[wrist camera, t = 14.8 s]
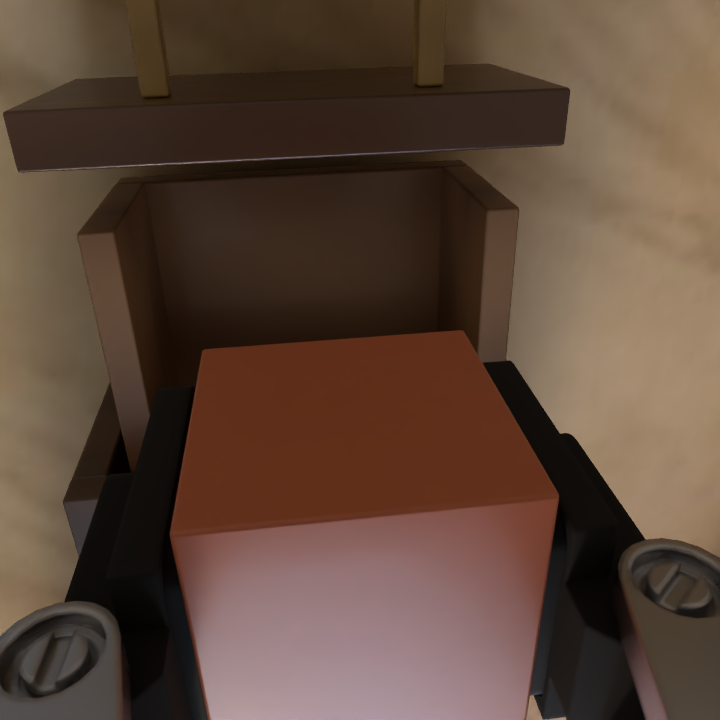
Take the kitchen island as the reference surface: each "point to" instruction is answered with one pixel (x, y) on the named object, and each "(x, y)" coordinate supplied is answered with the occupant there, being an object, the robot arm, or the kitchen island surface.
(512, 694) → the block
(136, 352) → the drawer
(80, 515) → the cabinet
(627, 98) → the kitchen island surface
